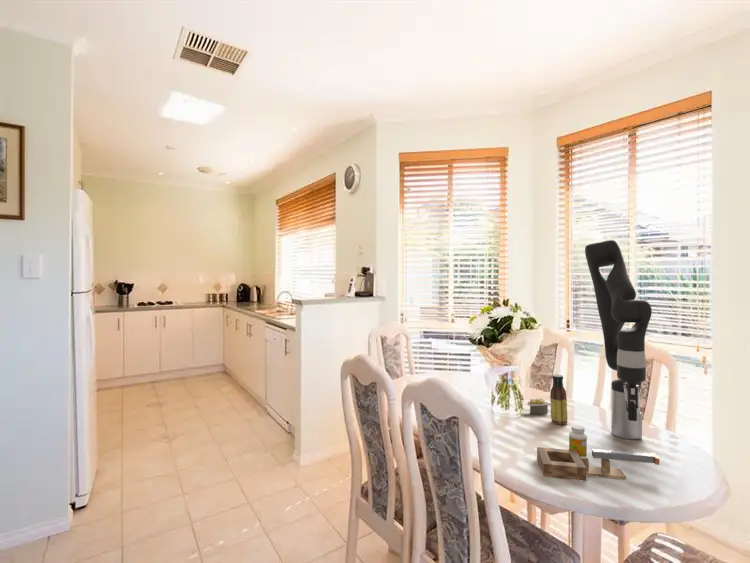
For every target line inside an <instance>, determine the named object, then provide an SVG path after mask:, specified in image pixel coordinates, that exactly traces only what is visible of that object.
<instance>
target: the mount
mask: <svg viewBox="0 0 750 563" xmlns="http://www.w3.org/2000/svg"><path fill="white" fill-rule="evenodd" d="M580 458H581V460H582V461H583V463H584V465H585V466H586V477H596V476H598V477H599V478H600V477H601V478H607V479H616V480H627V475H626V474H625V473H624V472H623V471H622V469H621V468H617V467H615V468H613V467H611V459H601V460H600V464H601V465H600V466H592V465H591V466H590V463H589V462H590V461H589V457H588V456H586V457H583V456H580ZM598 477H597V478H598Z"/></svg>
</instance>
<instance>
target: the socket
mask: <svg viewBox="0 0 750 563" xmlns="http://www.w3.org/2000/svg"><path fill="white" fill-rule="evenodd" d="M536 460H537V462H538V465H539V468H540V471H541V474H542V476H543V477H544V478H554V479H562V480H563V479H564V480H574V481H581V480H582V481H583V482H587V476H586V466H585V465H584V463H583V461H582V460H581V458H580V456H579V455H578V453H577V451H576V450H569V449H564V448H563V449H562V448H553V447H552V448H551V447H541V446H537V447H536Z"/></svg>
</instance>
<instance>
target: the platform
mask: <svg viewBox="0 0 750 563" xmlns="http://www.w3.org/2000/svg"><path fill="white" fill-rule="evenodd" d="M529 399H530V400H529V401H527V407H529V415H543V414H542V413H548V412H549V411H548V408H549V406H551V402H547V401H545V399H543V398H529ZM540 413H541V414H540Z"/></svg>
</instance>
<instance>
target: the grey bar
mask: <svg viewBox="0 0 750 563" xmlns="http://www.w3.org/2000/svg"><path fill="white" fill-rule="evenodd" d="M591 456H592V457H593V459H609V460H610V461H611V460H612V461H622V462H634V463H646V464H647V463H648V464H654V465H656V466H660V457H659V456H658V455H657V454H656V453H655V452H650V453H648V452H645V453H644V452H635V451H624V450H623V451H622V450H611V449H599V448H597V449H596V448H592V449H591Z"/></svg>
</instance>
